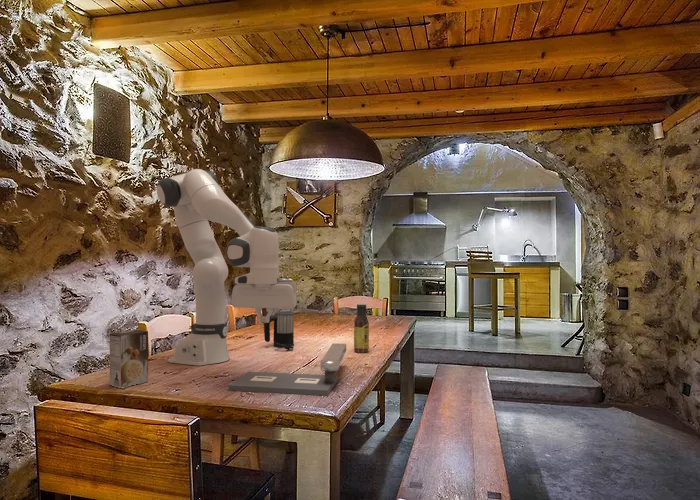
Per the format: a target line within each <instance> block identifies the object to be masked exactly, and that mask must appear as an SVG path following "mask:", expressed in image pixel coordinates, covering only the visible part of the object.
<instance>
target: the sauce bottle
mask: <svg viewBox="0 0 700 500" xmlns="http://www.w3.org/2000/svg"><path fill="white" fill-rule="evenodd" d="M356 310H357V311H356V316H355V318H354V322H353V323H354V325H353V347H354V348H353V351H354V352H355V353H358V354H359V353H360V354H361V353H362V354H363V353H364V354H365V353H368V352H369V347H370V341H369V340H370V322H369V319H368V317H367V304H366V303H359V304H356Z"/></svg>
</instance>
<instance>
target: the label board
mask: <svg viewBox="0 0 700 500" xmlns="http://www.w3.org/2000/svg"><path fill="white" fill-rule="evenodd" d="M335 372H336V371H324V374H311V373H310V374H309V373H288V372H287V373H286V372H285V373H284V372H265V371H247V372H246V373H244V374H243V375H241V376H239V378H237V379H236V380H234V381H233V382H231V383H229V384H228V385H227V386H228V387H227V388H228V389H227V390H228V391H230V390H234V391H233V392H236V391H237V392H251V393H253V392H254V393H271V394H285V395H286V394H287V395H289V394H290V395H311V396H326V397H328V396H329V394H330V392H331V391H332V390H333V388H334V387H335V385H336V384H337V383H338V378H339V376H338V375H336V373H335Z"/></svg>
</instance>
